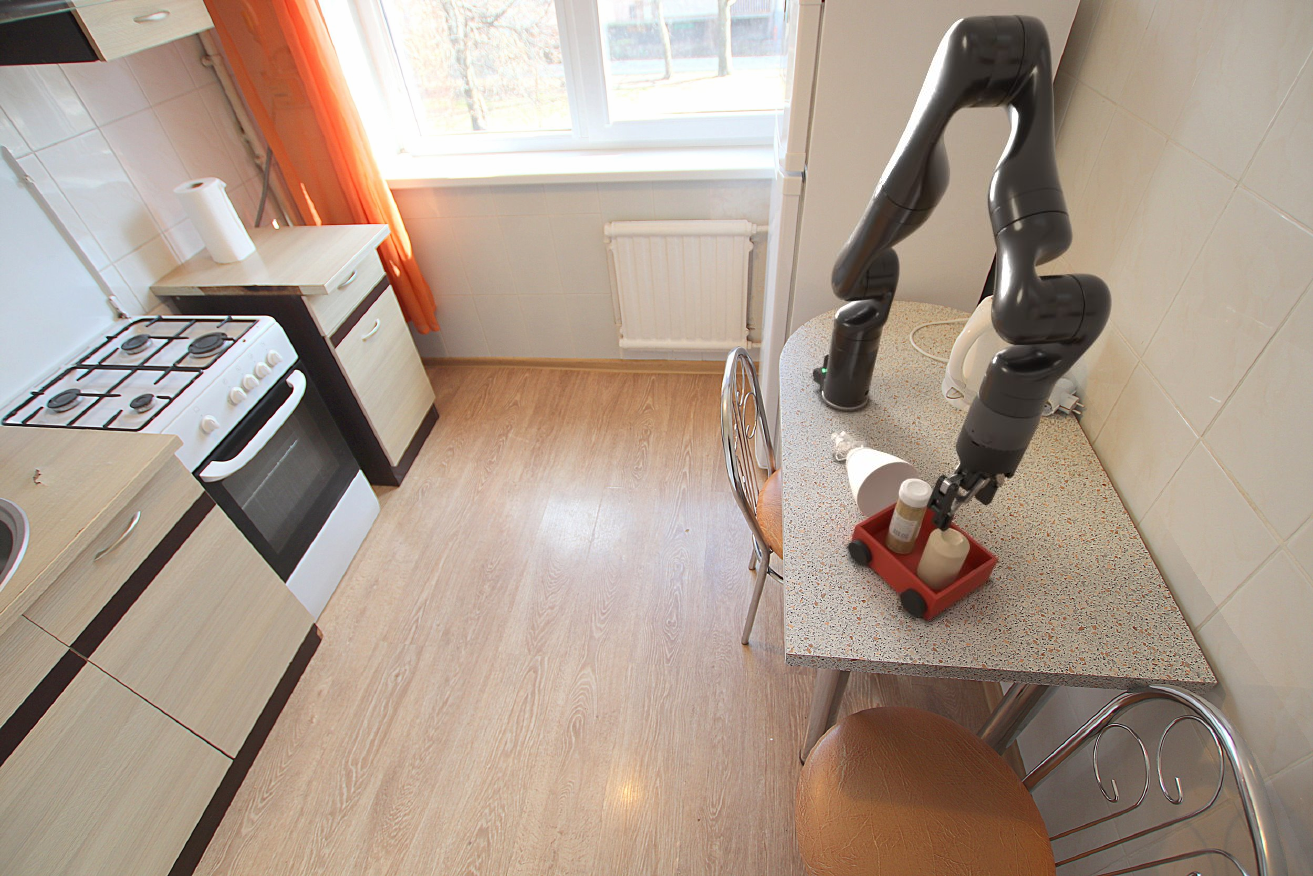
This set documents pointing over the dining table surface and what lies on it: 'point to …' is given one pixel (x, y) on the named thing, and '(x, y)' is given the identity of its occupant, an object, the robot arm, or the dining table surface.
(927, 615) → the cart
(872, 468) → the rocket engine
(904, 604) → the cart wheels
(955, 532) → the candle
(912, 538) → the sprinkles bottle
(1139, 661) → the dining table surface
